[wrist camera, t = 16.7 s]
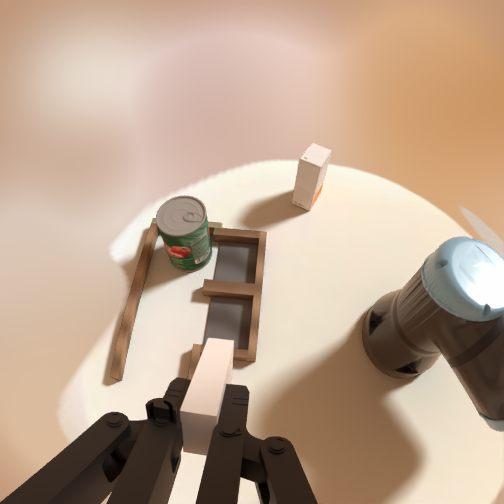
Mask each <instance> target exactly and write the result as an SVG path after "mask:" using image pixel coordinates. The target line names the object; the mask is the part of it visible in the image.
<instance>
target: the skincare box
mask: <svg viewBox="0 0 504 504" xmlns="http://www.w3.org/2000/svg"><path fill="white" fill-rule="evenodd" d="M330 155H331V150H329V149H326V148H324V147H321V146H319V145H316V144H314V143H312V144H311V145H310V146H309V147H308V149H307V150H306V151H305V152H304V154H303V155H302V156H301V158H300V159H299V164H298V170H297V176H296V182H295V187H294V193H293V199H292V203H293V204H295V205H297V206H299V207H301V208H304V209H306V210H308V211H310V210H311V208H312V207H313V205H314V203H315V201H316V200H317V198H318V197H319V195H320V193H321V190H322V186H323V182H324V178H325V175H326V171H327V167H328V163H329V159H330Z"/></svg>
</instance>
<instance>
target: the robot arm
mask: <svg viewBox="0 0 504 504" xmlns="http://www.w3.org/2000/svg"><path fill="white" fill-rule="evenodd" d="M363 342H364V346H365V349H366V352H367V354H368V356H369V358H370V359H371V361H372V362H373V363H374V365H375V366H376V367H377V368H378V369H380V370H381V371H382V372H384V373H385V374H387V375H390V376H392V377H396V378H410V377H414V376H416V375H419V374H421V373H423V372H425V371H426V370H428V369H429V368H430V367H431V366H432V365H433V364H434V363H435V362H436V361H437V359H438V358H439V356H440V355H441V353H442V355H443V356H444V357H445V359H446V360H447V362H448V363H449V365H450V366H451V368H452V369H453V371H454V373H455V374H456V376H457V377H458V379H459V381H460V382H461V384H462V385H463V387H464V389H465V390H466V392H467V394H468V395H469V397H470V399H471V400H472V402H473V404H474V405H475V407H476V410H477V411H478V413H479V415H480V416H481V417H482V418H483V419H484V420H485V421H486V423H487V424H488V426H489V427H490V428H492V429H493V430H496V431H499V432H504V260H503V258H502V257H501V256H500V255H499V254H498V253H497V252H496V251H495V250H494V249H493V248H492V247H490V246H489V245H487V244H486V243H484V242H482V241H480V240H477V239H471V238H468V237H455V238H451V239H449V240H447V241H445V242H444V243H443V244H442V245H440V246H439V248H438V249H437V250H436V251H435V252H433V253H432V254H430V255H429V256H428V257H427V258H426V260H425V261H424V264H423V265H422V267H421V268H420V269H419V270H418V271H417V273H416V274H415V275H414V276H413V277H412V278H411V280H410V281H409V282H408V283H407V284H406V285H405V286H404V287H403V289H400V290H397V291H394V292H391V293H388V294H386V295H384V296H383V297H381V298H380V299H379V300H378V301H377V302H376V303H375V304H374V305H373V306H372V307H371V309H370V310H369V312H368V313H367V315H366V318H365V320H364V324H363ZM233 350H234V340H225V339H216V338H208V340H207V342H206V345H205V347H204V350H203V352H202V355H201V357H200V360H199V363H198V365H197V368H196V370H195V373H194V375H193V378H192V380H190V379H183V378H176V379H174V380H173V381H172V382H170V384H169V387H168V389H167V391H166V393H165V395H164V397H163V398H156V399H152V400H150V401H148V402H147V403H146V411H147V417H148V419H146V420H140V421H129V419H128V417H127V416H126V415H124V414H123V413H119V412H110V413H107V414H105V415H103V416H102V417H101V418H100V419H99V420H97V421H96V422H95V423H94V424H93V425H92V426H91V427H89V428H88V429H87V430H86V431H85V432H84V433H82V434H81V435H80V436H79V437H78V438H77V439H75V440H74V441H73V442H72V443H71V444H70V445H68V446H67V447H66V448H65V449H64V450H63V451H62V452H60V453H59V454H58V455H57V456H56V457H54V458H53V459H52V460H51V461H50V462H49V463H47V464H46V465H45V466H44V467H43V468H41V469H40V470H39V471H38V472H37V473H36V474H34V475H33V476H32V477H31V478H29V479H28V480H27V481H26V482H25V483H23V484H22V485H21V486H20V487H18V488H17V489H16V490H15V491H14V492H12V493H11V494H10V495H9V496H7V497H6V498H5V499H4V500H3V501H1V502H0V504H101V503H102V502H103V501H104V499H105V498H106V497H107V496H108V495H109V494H110V493H111V492H112V493H111V495H110V497H109V499H108V502H107V504H168V501H169V497H170V494H171V491H172V488H173V484H174V481H175V478H176V475H177V471H178V468H179V465H180V462H181V450H182V447H183V452H188V453H194V454H200V455H206V456H207V458H206V462H205V466H204V470H203V475H202V479H201V483H200V487H199V491H198V496H197V500H196V504H237V502H238V494H239V486H240V478H241V477H242V478H244V479H247V480H250V481H253V482H255V485H256V489H257V493H258V496H259V500H260V504H318V503H317V501H316V499H315V496H314V494H313V492H312V490H311V487H310V485H309V483H308V480H307V478H306V476H305V473H304V471H303V468H302V466H301V464H300V461H299V459H298V457H297V454H296V452H295V449H294V447H293V445H292V444H291V442H290V441H289V440H287V439H285V438H282V437H269V438H266V439H265V440H261V439H258V438H255V437H253V436H252V435H250V434H249V432H248V431H247V429H246V422H247V413H248V402H249V391H248V389H247V387H246V386H243V385H233V384H231V380H232V367H233Z"/></svg>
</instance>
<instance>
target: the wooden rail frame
mask: <svg viewBox="0 0 504 504" xmlns="http://www.w3.org/2000/svg"><path fill="white" fill-rule="evenodd" d="M208 227H209V234H213V237H214V241H217V242H221V244H220V250H219V255H218V261H217V267H216V273H215V279H214V280H208V279H204V285H203V294H204V296H210V297H211V303H210V309H209V315H208V322H207V328H206V335H205V341H204V345H199V344H193V348H192V355H191V361H190V367H189V374H188V379H190V380H192V378H193V375H194V373H195V370H196V368H197V365H198V363H199V360H200V357H201V355H202V352H203V350H204V347H205V345H206V342H207V340H208V338H216V339H225V340H234V350H233V360H242V361H252V362H255V360H256V350H257V339H258V328H259V317H260V306H261V294H262V283H263V271H264V259H265V247H266V235H267V232H264V231H252V230H240V229H227V228H223V227H222V223H218V222H208ZM158 234H159V228H158V226H157V223H156V218H153V220H152V223H151V226H150V229H149V232H148V235H147V238H146V241H145V244H144V247H143V250H142V253H141V256H140V260H139V263H138V266H137V270H136V273H135V276H134V280H133V283H132V287H131V290H130V294H129V298H128V301H127V305H126V309H125V313H124V316H123V320H122V324H121V328H120V333H119V337H118V341H117V345H116V350H115V354H114V359H113V363H112V368H111V373H110V377H112V378H114V379H117V380H121V381H122V377H123V372H124V367H125V362H126V357H127V353H128V348H129V343H130V339H131V335H132V330H133V326H134V322H135V318H136V313H137V309H138V305H139V302H140V298H141V294H142V290H143V286H144V283H145V279H146V275H147V272H148V268H149V265H150V261H151V258H152V254H153V251H154V248H155V244H156V241H157V238H158ZM258 245H259V247H258ZM257 254H258V257H257ZM256 264H257V267H256ZM255 274H256V277H255ZM252 304H253V308H252ZM251 314H252V318H251ZM250 324H251V328H250ZM249 334H250V337H249ZM248 344H249V347H248Z"/></svg>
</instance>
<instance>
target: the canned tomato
mask: <svg viewBox="0 0 504 504" xmlns="http://www.w3.org/2000/svg"><path fill="white" fill-rule="evenodd" d="M156 223H157V226H158V228H159V231H160V234H161V236H162V239H163V242H164V244H165V247H166V250H167V252H168V255H169V257H170V261H171V263H172V264H173V266H174V267H176V268H177V269H179V270H181V271H184V272H193V271H197V270H199V269H202V268H203V267H204V266H206V265H207V264H208V262H209V261H210V259H211V257H212V247H211V240H210V234H209V227H208V221H207V215H206V208H205V206H204V204H203V203H202V202H201V201H200V200H199V199H197V198H195V197H192V196H178V197H174V198H172V199H170V200H168V201H166V202H165V203H164V204H163V205H162V206H161V207H160V208H159V210H158V212H157V215H156Z"/></svg>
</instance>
